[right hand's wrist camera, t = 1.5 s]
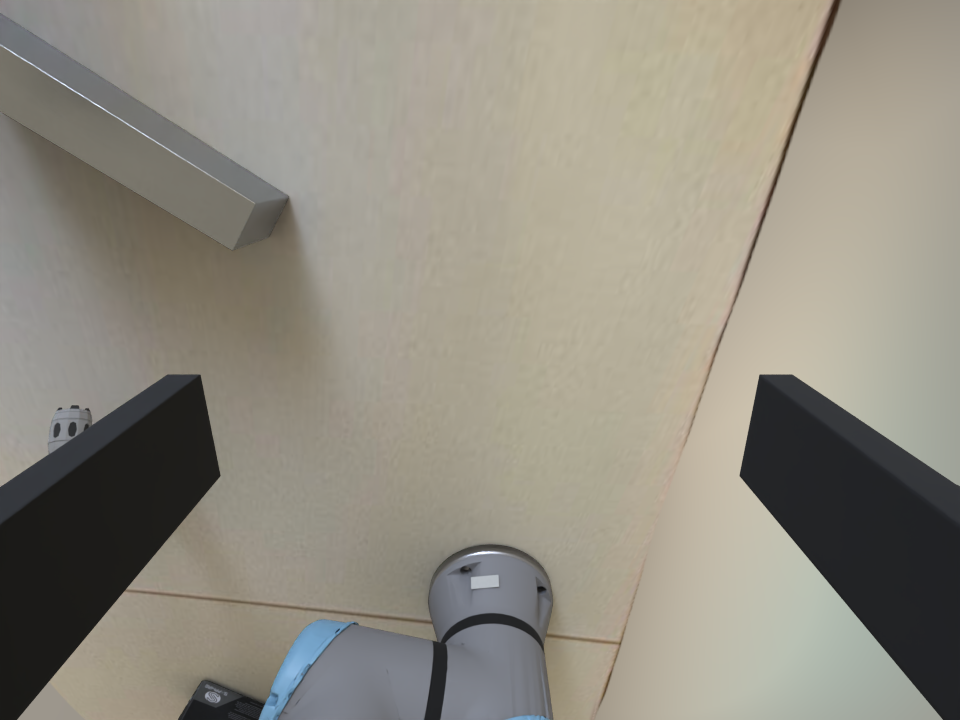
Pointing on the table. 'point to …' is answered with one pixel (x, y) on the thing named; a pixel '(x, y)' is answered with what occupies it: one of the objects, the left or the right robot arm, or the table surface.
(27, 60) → the bar
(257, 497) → the table surface
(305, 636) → the right robot arm
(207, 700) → the graphics card box
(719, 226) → the table surface
